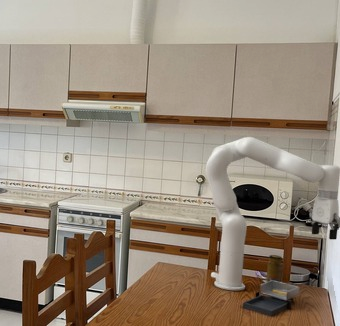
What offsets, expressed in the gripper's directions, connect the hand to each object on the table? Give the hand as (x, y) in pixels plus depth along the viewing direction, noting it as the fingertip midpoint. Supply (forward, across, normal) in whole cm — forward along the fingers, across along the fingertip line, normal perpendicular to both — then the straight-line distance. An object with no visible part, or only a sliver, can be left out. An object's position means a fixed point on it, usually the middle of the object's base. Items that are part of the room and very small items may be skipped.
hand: (323, 236), depth 202 cm
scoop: (+22, +3, -20) cm, 30 cm away
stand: (+25, +4, -23) cm, 34 cm away
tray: (+25, +10, -33) cm, 42 cm away
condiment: (+25, -18, -8) cm, 32 cm away
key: (+22, +5, -22) cm, 31 cm away
